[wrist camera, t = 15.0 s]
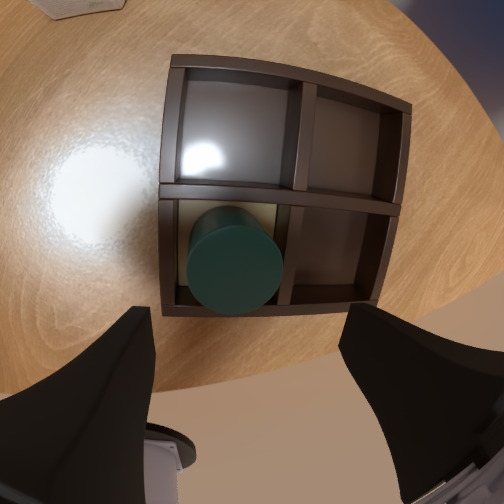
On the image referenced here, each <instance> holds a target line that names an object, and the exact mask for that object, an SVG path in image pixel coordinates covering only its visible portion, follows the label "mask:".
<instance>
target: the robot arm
mask: <svg viewBox="0 0 504 504" xmlns="http://www.w3.org/2000/svg"><path fill="white" fill-rule="evenodd" d="M338 347H339V349H340V352H341V354H342V357H343V359H344V362H345V364H346V366H347V368H348V370H349V371H350V373H351V375H352V376H353V378H354V379H355V381H356V383H357V385H358V386H359V388H360V389H361V391H362V393H363V394H364V396H365V398H366V399H367V401H368V402H369V404H370V406H371V407H372V409H373V411H374V413H375V415H376V417H377V419H378V421H379V424H380V426H381V428H382V431H383V433H384V436H385V438H386V441H387V444H388V447H389V449H390V452H391V455H392V459H393V462H394V465H395V469H396V473H397V478H398V483H399V489H400V496H401V500H402V502H403V503H404V504H411V503H413V502H415V501H416V500H418V499H420V498H421V497H423V496H424V495H426V494H428V493H429V492H431V491H432V490H434V489H435V488H437V487H438V486H440V485H441V484H443V483H444V482H446V483H445V484H444V485H443V486H441V487H440V488H438V489H437V490H435V491H434V492H432V493H431V494H429V495H428V496H426V497H425V498H423V499H421V500H420V501H418V502H416V503H415V504H444V503H446V502H447V503H446V504H504V352H500V351H492V350H486V349H481V348H476V347H472V346H468V345H464V344H461V343H457V342H454V341H451V340H449V339H445V338H442V337H440V336H437V335H435V334H433V333H430V332H428V331H426V330H423V329H421V328H419V327H417V326H415V325H413V324H411V323H409V322H406V321H404V320H402V319H400V318H398V317H396V316H394V315H392V314H390V313H388V312H386V311H384V310H382V309H379V308H377V307H375V306H373V305H370V304H367V303H364V302H361V303H351V304H350V308H349V311H348V315H347V318H346V322H345V325H344V328H343V332H342V335H341V338H340V341H339V344H338ZM155 359H156V352H155V345H154V338H153V330H152V322H151V313H150V307H142V306H132V307H131V308H130V309H129V310H128V311H127V312H125V313H124V314H123V315H122V316H121V317H120V318H119V319H118V320H117V321H116V322H115V323H114V324H113V325H112V326H111V327H110V328H109V329H108V330H107V331H106V332H105V333H104V334H103V335H102V336H101V337H99V338H98V339H97V340H96V341H95V342H94V343H92V344H91V345H90V346H89V347H88V348H87V349H85V350H84V351H83V352H82V353H81V354H80V355H78V356H77V357H76V358H74V359H73V360H72V361H70V362H69V363H68V364H66V365H65V366H63V367H62V368H61V369H59V370H58V371H56V372H55V373H53V374H52V375H50V376H48V377H46V378H45V379H43V380H41V381H39V382H38V383H36V384H34V385H32V386H31V387H29V388H27V389H25V390H23V391H21V392H19V393H17V394H15V395H12V396H10V397H8V398H5V399H3V400H1V401H0V504H178V493H177V473H183V468H182V464H181V461H180V457H179V453H178V449H177V445H176V443H175V442H174V441H163V440H149V439H144V437H145V428H146V422H147V416H148V410H149V404H150V399H151V393H152V388H153V382H154V373H155Z"/></svg>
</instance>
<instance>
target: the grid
mask: <svg viewBox="0 0 504 504" xmlns="http://www.w3.org/2000/svg"><path fill="white" fill-rule="evenodd" d="M411 115H412V104H410V103H408V102H406V101H404V100H401V99H399V98H396V97H394V96H392V95H389V94H387V93H384V92H381V91H379V90H376V89H373V88H370V87H368V86H365V85H362V84H359V83H356V82H353V81H349V80H346V79H343V78H340V77H336V76H333V75H329V74H325V73H321V72H317V71H313V70H309V69H305V68H300V67H296V66H291V65H286V64H280V63H275V62H269V61H262V60H255V59H248V58H239V57H229V56H216V55H196V54H172V56H171V61H170V69H169V74H168V80H167V88H166V96H165V104H164V113H163V123H162V135H161V148H160V164H159V192H158V198H159V200H158V256H159V280H160V296H161V310H162V316H168V317H269V316H294V315H313V314H328V313H341V312H348V311H349V308H350V304H351V303H361V302H364V303H367V304H370V305H373V306H375V307H377V303H378V299H379V296H380V293H381V290H382V286H383V283H384V279H385V276H386V272H387V268H388V265H389V261H390V257H391V253H392V248H393V244H394V240H395V235H396V231H397V226H398V221H399V216H400V211H401V205H400V204H402V200H403V194H404V188H405V181H406V174H407V166H408V157H409V148H410V136H411V121H412V116H411ZM219 206H236V207H240V208H242V209H244V210H246V211H248V212H249V213H251V214H252V215H253V216H254V217H255V218H256V219H257V221H258V222H259V223H260V224H261V226H262V227H263V228H264V229H265V231H266V232H267V233H268V234H269V236H270V237H271V238H272V239H273V241H274V242H275V243H276V245H277V246H278V248H279V250H280V253H281V255H282V260H283V275H282V279H281V282H280V285H279V287H278V289H277V290H276V292H275V293H274V295H273V296H272V297H271V298H270V299H269V300H268V301H267V302H266V303H265V304H263V305H262V306H260V307H259V308H257V309H255V310H252V311H250V312H247V313H243V314H234V315H231V314H222V313H218V312H215V311H212V310H210V309H208V308H207V307H205V306H204V305H202V304H201V303H200V302H199V301H198V300H197V299H196V298H195V297H194V295H193V294H192V292H191V291H190V289H189V286H188V283H187V279H186V263H187V254H188V246H189V238H190V233H191V230H192V228H193V226H194V224H195V222H196V221H197V220H198V218H199V217H200V216H201V215H203V214H204V213H205V212H207V211H208V210H210V209H213V208H215V207H219Z"/></svg>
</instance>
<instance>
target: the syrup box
mask: <svg viewBox="0 0 504 504" xmlns="http://www.w3.org/2000/svg"><path fill="white" fill-rule="evenodd" d="M28 1H29V2H30V3H31V4H33V5H35V6H36V7H37V8H39V9H40V10H41V11H43V12H44V13H45V14H47V15H48V16H49V17H50V18H52V19H54V20H57V19H62V18H67V17H72V16H77V15H82V14H88V13H94V12H100V11H107V10H115V9H122V7H123V5H124V3H125V0H28Z"/></svg>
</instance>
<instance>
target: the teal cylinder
mask: <svg viewBox="0 0 504 504" xmlns="http://www.w3.org/2000/svg"><path fill="white" fill-rule="evenodd" d="M282 275H283V260H282V255H281V253H280V250H279V248H278V246H277V245H276V243H275V242H274V241H273V239H272V238H271V237H270V236H269V234H268V233H267V232H266V231H265V229H264V228H263V227H262V226H261V224H260V223H259V222H258V221H257V219H256V218H255V217H254V216H253V215H252V214H251V213H249V212H248V211H246V210H244V209H242V208H240V207H236V206H219V207H215V208H213V209H210V210H208V211H207V212H205V213H204V214H203V215H201V216H200V217H199V218H198V220H197V221H196V222H195V224H194V226H193V228H192V230H191V233H190V238H189V246H188V254H187V263H186V279H187V283H188V286H189V289H190V291H191V292H192V294H193V295H194V297H195V298H196V299H197V300H198V301H199V302H200V303H201V304H202V305H204V306H205V307H207V308H208V309H210V310H212V311H215V312H218V313H222V314H231V315H234V314H243V313H247V312H250V311H252V310H255V309H257V308H259V307H260V306H262V305H263V304H265V303H266V302H267V301H268V300H269V299H270V298H271V297H272V296H273V295H274V293H275V292H276V290H277V289H278V287H279V285H280V282H281V279H282Z"/></svg>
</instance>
